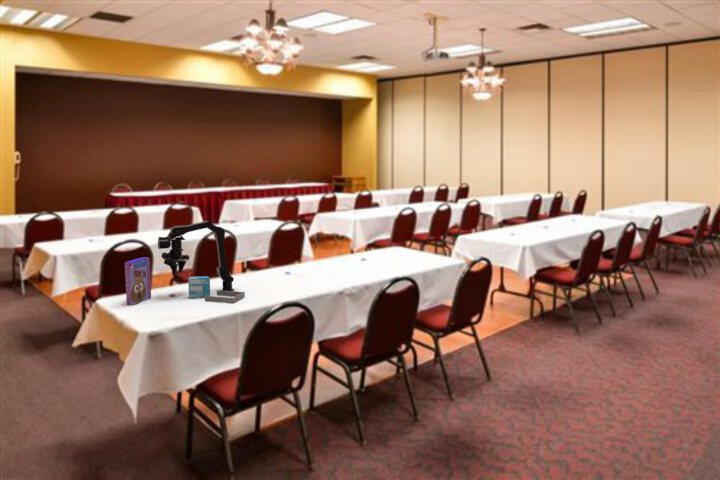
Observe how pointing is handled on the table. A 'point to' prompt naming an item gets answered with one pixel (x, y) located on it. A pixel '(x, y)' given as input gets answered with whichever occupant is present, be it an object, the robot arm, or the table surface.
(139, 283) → the cereal box
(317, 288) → the table surface
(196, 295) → the data package
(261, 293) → the table surface
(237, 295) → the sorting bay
